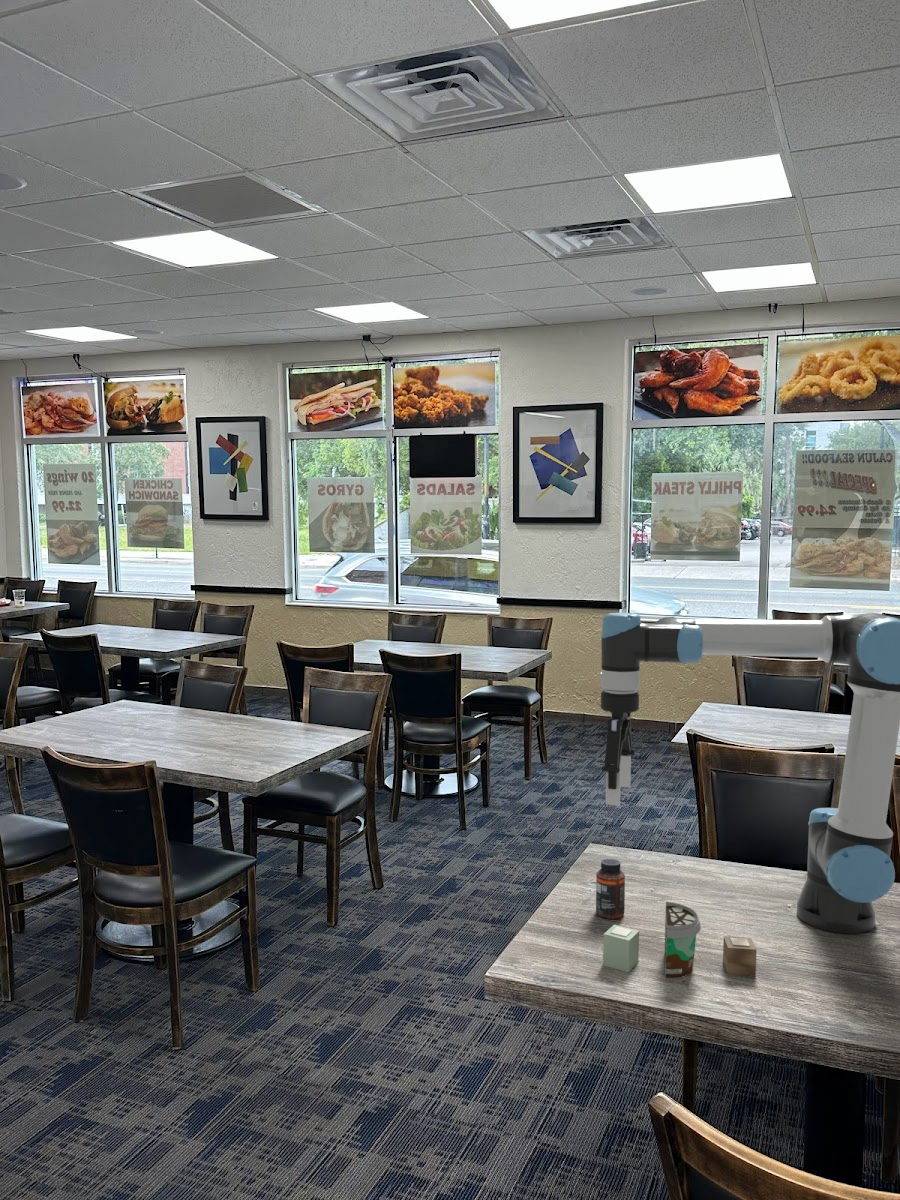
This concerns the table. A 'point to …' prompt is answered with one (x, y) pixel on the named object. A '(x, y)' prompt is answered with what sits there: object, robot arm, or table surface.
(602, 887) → the supplement bottle
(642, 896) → the table surface
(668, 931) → the food container
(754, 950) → the walnut block
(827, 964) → the table surface
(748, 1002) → the table surface
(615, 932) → the sage block
